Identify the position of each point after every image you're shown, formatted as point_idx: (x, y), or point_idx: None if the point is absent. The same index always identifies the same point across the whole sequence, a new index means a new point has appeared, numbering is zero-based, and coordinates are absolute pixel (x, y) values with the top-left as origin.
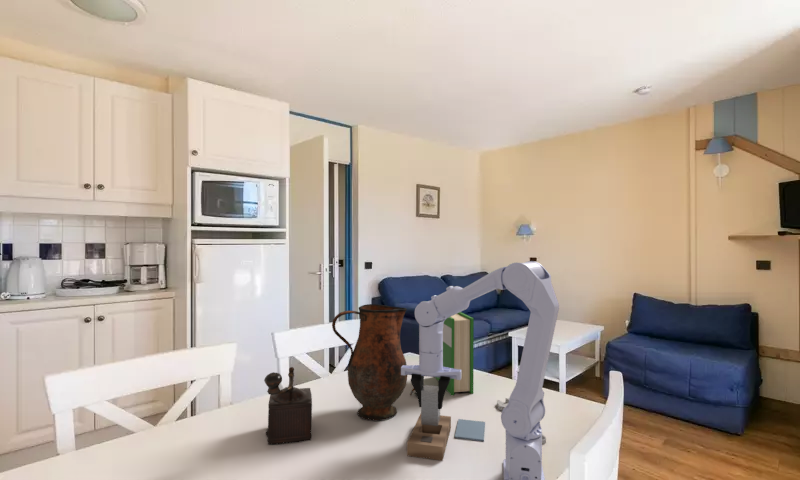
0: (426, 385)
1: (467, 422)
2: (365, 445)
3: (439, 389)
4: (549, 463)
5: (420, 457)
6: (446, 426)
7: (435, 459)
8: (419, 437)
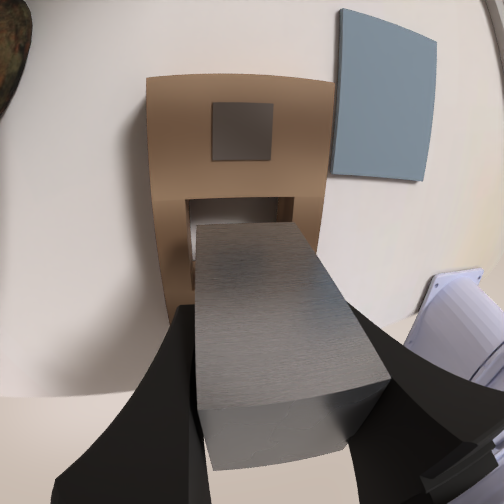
0: (230, 413)
1: (381, 41)
2: (42, 304)
3: (359, 464)
4: (495, 250)
5: None
6: (315, 204)
7: None
8: None
